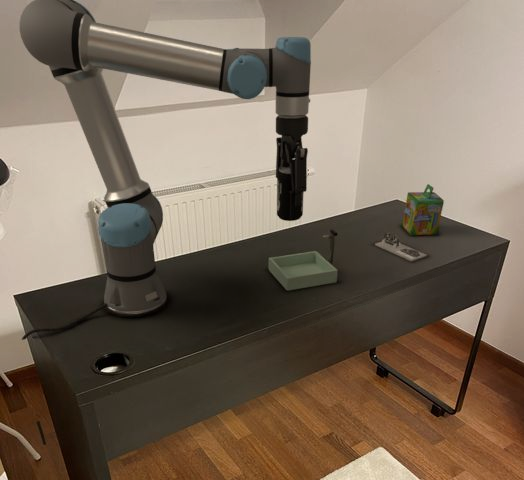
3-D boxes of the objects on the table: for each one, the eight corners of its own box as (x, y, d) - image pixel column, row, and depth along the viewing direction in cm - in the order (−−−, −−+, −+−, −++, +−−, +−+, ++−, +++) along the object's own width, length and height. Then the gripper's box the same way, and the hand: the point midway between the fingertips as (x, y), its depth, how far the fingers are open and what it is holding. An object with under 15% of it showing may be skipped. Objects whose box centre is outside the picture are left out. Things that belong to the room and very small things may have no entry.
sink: (286, 290, 138) (287, 278, 136) (268, 269, 148) (268, 257, 146) (336, 282, 142) (337, 270, 140) (315, 262, 152) (316, 250, 150)
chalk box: (401, 226, 177) (408, 181, 169) (427, 225, 178) (435, 181, 170) (410, 236, 170) (418, 190, 161) (437, 235, 170) (447, 189, 162)
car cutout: (374, 244, 164) (376, 231, 161) (389, 240, 167) (391, 226, 164) (411, 261, 153) (414, 247, 151) (426, 256, 157) (429, 242, 154)
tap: (322, 274, 146) (325, 234, 139) (318, 270, 148) (321, 230, 141) (334, 272, 147) (338, 232, 140) (330, 268, 149) (333, 229, 142)
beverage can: (292, 223, 130) (294, 174, 123) (271, 218, 133) (271, 170, 127) (307, 216, 134) (309, 168, 128) (286, 211, 138) (287, 164, 131)
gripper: (325, 122, 114) (319, 224, 127) (290, 107, 129) (288, 199, 142) (293, 124, 112) (290, 228, 125) (262, 109, 127) (262, 203, 140)
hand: (289, 212), depth 133 cm, fingers closed on beverage can, 6 cm apart
